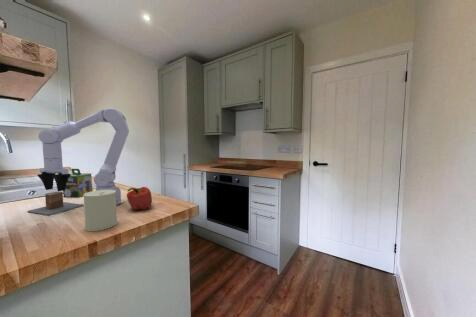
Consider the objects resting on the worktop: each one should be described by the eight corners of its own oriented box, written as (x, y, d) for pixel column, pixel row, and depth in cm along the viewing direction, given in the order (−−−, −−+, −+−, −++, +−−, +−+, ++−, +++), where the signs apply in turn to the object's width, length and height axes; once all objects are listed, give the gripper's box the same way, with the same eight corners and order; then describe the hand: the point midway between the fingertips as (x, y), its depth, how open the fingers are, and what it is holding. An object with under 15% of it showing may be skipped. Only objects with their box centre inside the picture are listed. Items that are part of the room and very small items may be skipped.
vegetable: (136, 214, 78) (135, 190, 77) (119, 210, 82) (118, 187, 81) (158, 206, 87) (157, 184, 87) (142, 203, 92) (141, 182, 91)
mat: (83, 205, 88) (83, 204, 88) (48, 215, 76) (48, 214, 76) (63, 203, 92) (63, 202, 92) (27, 212, 80) (27, 210, 79)
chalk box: (93, 193, 111) (92, 167, 110) (78, 197, 101) (77, 169, 100) (78, 192, 112) (77, 167, 110) (62, 197, 102) (60, 169, 101)
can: (88, 234, 61) (87, 196, 60) (81, 226, 67) (80, 191, 66) (121, 225, 68) (120, 191, 67) (112, 218, 74) (111, 187, 73)
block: (63, 206, 85) (62, 191, 85) (50, 209, 81) (50, 194, 81) (58, 205, 86) (57, 191, 86) (46, 209, 82) (45, 193, 81)
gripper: (29, 158, 81) (32, 191, 82) (53, 159, 77) (55, 193, 78) (50, 157, 87) (52, 187, 88) (73, 158, 83) (75, 189, 84)
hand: (55, 190), depth 83 cm, fingers open, 7 cm apart
